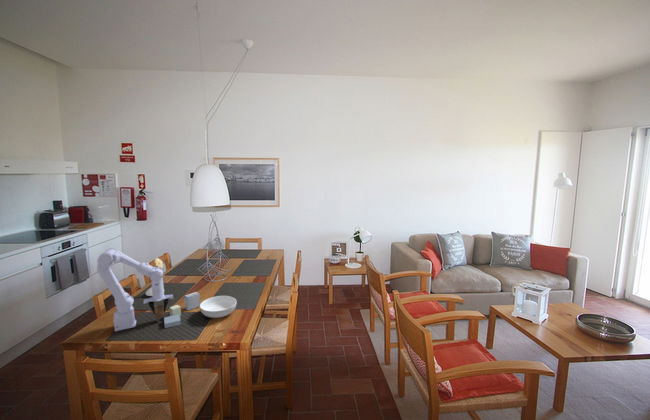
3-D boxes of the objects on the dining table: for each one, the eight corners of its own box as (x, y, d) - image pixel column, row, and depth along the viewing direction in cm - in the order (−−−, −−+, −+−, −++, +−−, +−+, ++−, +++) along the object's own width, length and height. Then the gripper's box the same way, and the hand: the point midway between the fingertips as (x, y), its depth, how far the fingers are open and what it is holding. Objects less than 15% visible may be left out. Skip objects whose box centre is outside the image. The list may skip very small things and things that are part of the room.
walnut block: (155, 318, 167) (154, 309, 166) (155, 314, 171) (154, 305, 170) (164, 316, 169) (163, 307, 168) (164, 313, 173) (163, 304, 172)
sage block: (173, 318, 173) (172, 309, 172) (170, 316, 176) (169, 307, 175) (181, 315, 176) (180, 306, 176) (177, 313, 179) (177, 304, 178)
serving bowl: (221, 325, 166) (221, 313, 165) (192, 318, 173) (191, 307, 172) (244, 308, 185) (243, 298, 184) (216, 303, 192) (216, 293, 191)
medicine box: (197, 304, 191) (196, 291, 190) (200, 306, 188) (199, 293, 187) (184, 308, 185) (184, 295, 184) (188, 310, 182) (187, 297, 181)
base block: (164, 329, 163) (164, 323, 162) (164, 322, 169) (164, 317, 169) (181, 325, 166) (180, 320, 166) (180, 318, 173) (179, 314, 173)
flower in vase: (154, 298, 198) (151, 262, 195) (141, 296, 202) (138, 261, 198) (170, 291, 210) (167, 257, 207) (157, 289, 214) (155, 255, 210)
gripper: (142, 295, 161) (144, 318, 163) (172, 290, 168) (174, 312, 170) (143, 290, 167) (144, 313, 169) (172, 285, 174) (173, 307, 176)
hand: (159, 312), depth 170 cm, fingers closed on walnut block, 4 cm apart
